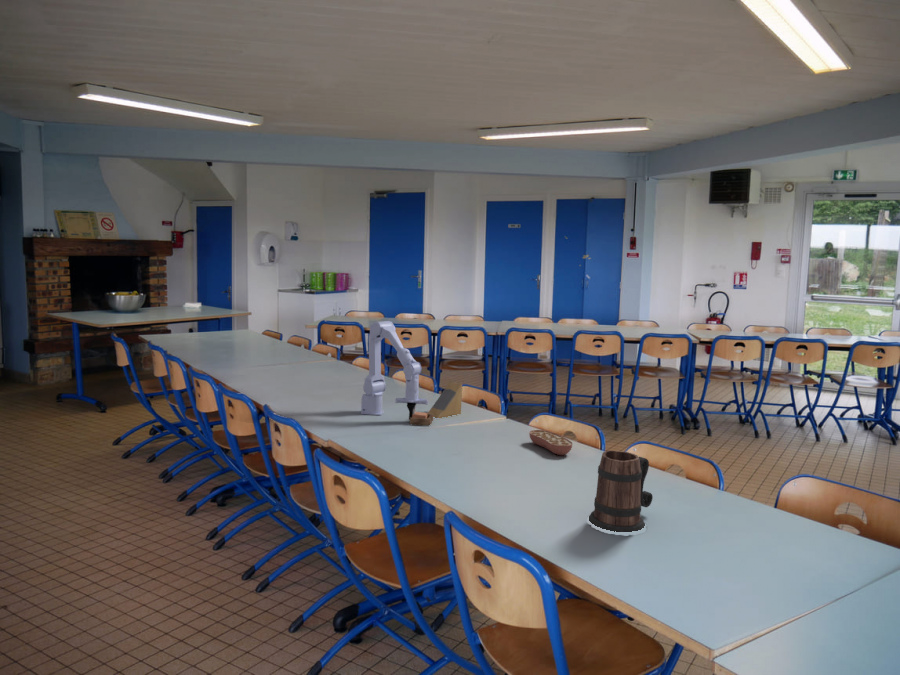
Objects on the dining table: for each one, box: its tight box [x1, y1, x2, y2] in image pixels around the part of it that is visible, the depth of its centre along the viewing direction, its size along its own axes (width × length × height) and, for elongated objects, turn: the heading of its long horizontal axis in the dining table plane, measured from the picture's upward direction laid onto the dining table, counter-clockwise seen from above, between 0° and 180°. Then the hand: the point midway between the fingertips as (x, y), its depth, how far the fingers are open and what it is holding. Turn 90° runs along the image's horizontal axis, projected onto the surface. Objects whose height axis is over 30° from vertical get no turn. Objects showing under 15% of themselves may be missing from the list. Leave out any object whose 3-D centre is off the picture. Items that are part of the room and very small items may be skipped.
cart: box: [412, 406, 428, 419], centre depth 288 cm, size 6×6×6 cm
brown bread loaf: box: [528, 429, 573, 456], centre depth 253 cm, size 23×10×5 cm, turn 25°
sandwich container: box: [426, 380, 463, 419], centre depth 302 cm, size 9×15×15 cm, turn 133°
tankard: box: [588, 450, 653, 532], centre depth 184 cm, size 24×17×20 cm
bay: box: [409, 414, 434, 426], centre depth 288 cm, size 9×10×3 cm
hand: (411, 419), depth 288 cm, fingers closed, pressing on cart
